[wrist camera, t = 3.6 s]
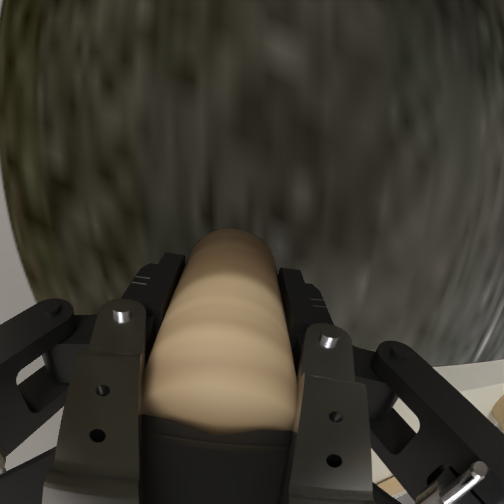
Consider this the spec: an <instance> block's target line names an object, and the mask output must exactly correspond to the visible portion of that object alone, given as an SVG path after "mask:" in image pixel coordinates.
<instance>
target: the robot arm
mask: <svg viewBox="0 0 504 504" xmlns="http://www.w3.org/2000/svg"><path fill="white" fill-rule="evenodd" d="M184 267H185V255H180V254H172V253H165V254H164V256H163V257H162V259H161V261H160V262H159V264H152V263H150V264H148V265H146V266H144V267H143V268H141V269H140V271H139V272H138V273H137V275H136V277H135V278H134V279H133V281H132V283H131V284H130V285H129V287H128V288H127V290H126V291H125V293H124V294H123V296H122V298H121V299H114V300H111V301H108V302H106V303H105V304H103V305H102V306H101V308H100V309H99V312H98V314H97V315H74V312H73V307H72V305H71V304H70V303H69V302H68V301H65V300H62V299H47V300H44V301H41V302H39V303H37V304H35V305H34V306H32V307H30V308H29V309H27V310H25V311H23V312H22V313H20V314H18V315H16V316H15V317H13V318H11V319H9V320H8V321H6V322H4V323H3V324H1V325H0V504H401V503H400V502H398V501H397V500H396V499H395V498H393V497H392V496H391V495H389V494H388V493H387V492H385V491H384V490H383V489H381V488H380V487H379V486H378V485H376V484H375V483H374V482H372V456H371V448H372V449H373V451H374V452H375V453H376V454H377V456H378V457H379V458H380V459H381V461H382V462H383V463H384V464H385V466H386V467H387V468H388V469H389V471H390V472H391V473H392V474H393V476H394V477H395V478H396V479H397V480H398V482H399V483H400V484H401V485H402V487H403V488H404V489H405V490H406V491H407V493H408V494H409V495H410V496H411V497H412V499H413V500H414V501H415V504H504V434H503V433H502V432H501V431H500V430H499V429H498V428H497V427H496V426H495V425H494V424H493V423H492V422H491V421H490V420H489V419H487V418H486V417H485V416H484V415H483V414H482V413H481V412H480V411H479V410H478V409H477V408H476V407H475V406H474V405H473V404H472V403H471V402H470V401H468V400H467V399H466V398H465V397H464V396H463V395H462V394H461V393H460V392H459V391H458V390H457V389H456V388H454V387H453V386H452V385H451V384H450V383H449V382H448V381H447V380H446V379H445V378H444V377H443V376H441V375H440V374H439V373H438V372H437V371H436V370H435V369H434V368H433V367H432V366H430V365H429V364H428V363H427V362H426V361H425V360H424V359H423V358H422V357H420V356H419V355H418V354H417V353H416V352H415V351H414V350H413V349H411V348H410V347H409V346H407V345H405V344H403V343H400V342H397V341H384V342H382V343H381V344H380V345H379V346H378V348H377V350H376V352H373V351H369V350H365V349H361V348H358V347H355V346H352V340H351V338H350V336H349V335H348V333H346V332H345V331H344V330H343V329H341V328H339V327H337V326H334V324H333V322H332V319H331V317H330V314H329V312H328V309H327V308H326V304H325V302H324V301H323V297H322V295H321V292H320V291H319V290H318V289H317V288H316V287H315V286H314V285H312V284H306V283H305V282H304V279H303V276H302V274H301V271H300V270H294V269H286V268H280V270H279V274H278V282H279V287H280V292H281V297H282V303H283V308H284V313H285V318H286V324H287V329H288V334H289V340H290V345H291V351H292V356H293V361H294V367H295V372H296V378H297V399H296V413H295V416H294V426H293V431H286V430H256V431H249V432H242V433H234V434H225V435H214V434H210V433H207V432H204V431H201V430H199V429H196V428H193V427H190V426H187V425H185V424H182V423H179V422H177V421H174V420H171V419H166V418H160V417H155V416H150V415H145V414H142V402H143V401H142V393H143V381H144V373H145V367H146V364H147V362H148V359H149V356H150V353H151V351H152V348H153V345H154V343H155V340H156V337H157V335H158V332H159V330H160V327H161V324H162V322H163V319H164V317H165V314H166V312H167V309H168V306H169V304H170V301H171V299H172V296H173V294H174V291H175V289H176V287H177V284H178V282H179V279H180V277H181V274H182V272H183V270H184ZM41 355H42V357H43V360H44V363H45V365H44V366H43V367H42V368H40V369H39V370H38V371H36V372H35V373H34V374H32V375H31V376H29V377H28V378H27V379H25V380H24V381H23V382H22V383H20V384H19V385H17V384H16V377H17V375H18V373H19V372H20V370H21V369H23V368H24V367H25V366H27V365H28V364H30V363H31V362H32V361H34V360H35V359H37V358H38V357H39V356H41ZM398 398H400V399H401V400H402V401H403V402H404V403H405V404H406V406H407V407H408V408H409V409H410V410H411V411H412V412H413V413H414V414H415V415H416V416H417V418H418V420H419V423H420V428H419V431H418V432H417V433H416V432H415V431H414V430H413V429H412V428H411V427H410V426H409V425H408V423H407V422H406V421H405V420H404V419H403V418H402V417H401V416H400V415H399V414H398V413H397V411H396V410H395V409H394V408H393V406H394V404H395V403H396V401H397V400H398ZM63 406H64V410H63V415H62V420H61V425H60V430H59V435H58V442H57V446H56V447H54V448H52V449H50V450H48V451H46V452H44V453H43V454H41V455H39V456H37V457H35V458H33V459H31V460H29V461H27V462H25V463H23V464H21V465H19V466H17V467H15V468H13V469H10V470H8V471H6V469H5V467H4V466H5V462H6V456H7V455H9V454H10V453H11V452H12V451H13V450H14V449H15V448H17V446H19V445H20V444H21V443H22V442H23V441H24V440H26V439H27V438H28V437H29V436H30V435H31V434H32V433H34V432H35V431H36V430H37V429H38V428H39V427H40V426H42V425H43V424H44V423H45V422H46V421H47V420H48V419H50V418H51V417H52V416H53V415H54V414H55V413H56V412H58V411H59V410H60V409H61V408H62V407H63Z"/></svg>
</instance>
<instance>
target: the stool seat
mask: <svg viewBox="0 0 504 504" xmlns="http://www.w3.org/2000/svg"><path fill="white" fill-rule="evenodd" d="M433 368H434V369H435V370H436V371H437V372H438V373H439V374H440V375H441V376H443V377H444V378H445V379H446V380H447V381H448V382H449V383H450V384H451V385H452V386H453V387H454V388H456V389H457V390H458V391H459V392H460V393H461V394H462V395H463V396H464V397H465V398H466V399H467V400H468V401H470V402H471V403H472V404H473V405H474V406H475V407H476V408H477V409H478V410H479V411H480V412H481V413H482V414H483V415H484V416H485V417H486V418H487V419H489V420H490V421H491V422H492V423H493V424H494V425H495V426H497V425H498V424H499V426H500V427H501V429H502V430H503V432H504V359H502V360H495V361H487V362H480V363H471V364H462V365H452V366H440V367H433ZM393 408H394V409H395V410H396V411H397V413H398V414H399V415H400V416H401V417H402V418H403V419H404V420H405V421H406V422H407V423H408V425H409V426H410V427H411V428H412V429H413V430H414V431H415V432H416V433H417V432H418V431H419V428H420V423H419V420H418V418H417V416H416V415H415V414H414V413H413V412H412V411H411V410H410V409H409V408H408V407H407V406H406V404H405V403H404V402H403V401H402V400H401V399H400V398H398V400H397V401H396V403H395V404H394V406H393ZM371 456H372V482H374V483H375V484H376V485H378V484H380V483H382V482H384V481H387V480H389V479H391V478H393V477H394V476H393V474H392V473H391V472H390V471H389V469H388V468H387V467H386V466H385V464H384V463H383V462H382V461H381V459H380V458H379V457H378V456H377V454H376V453H375V452H374V451H373V449H372V448H371ZM403 494H407V491H406V490H404V491H402V492H400V493H398V494H395V495H393V496H392V497H395V496H399V495H403Z"/></svg>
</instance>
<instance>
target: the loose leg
mask: <svg viewBox="0 0 504 504" xmlns="http://www.w3.org/2000/svg"><path fill="white" fill-rule="evenodd" d="M296 399H297V378H296V372H295V367H294V361H293V356H292V351H291V345H290V340H289V334H288V329H287V324H286V318H285V313H284V308H283V303H282V297H281V292H280V287H279V282H278V277H277V272H276V267H275V262H274V258H273V255H272V253H271V251H270V249H269V248H268V246H267V245H266V244H265V243H264V242H263V241H262V240H261V239H260V238H258V237H257V236H255V235H254V234H252V233H250V232H247V231H244V230H240V229H232V228H229V229H221V230H217V231H214V232H211V233H209V234H207V235H206V236H204V237H203V238H202V239H200V240H199V241H198V242H197V243H196V245H195V246H194V247H193V249H192V251H191V253H190V255H189V258H188V260H187V262H186V265H185V267H184V270H183V272H182V274H181V277H180V279H179V282H178V284H177V287H176V289H175V291H174V294H173V296H172V299H171V301H170V304H169V306H168V309H167V312H166V314H165V317H164V319H163V322H162V324H161V327H160V330H159V332H158V335H157V337H156V340H155V343H154V345H153V348H152V351H151V353H150V356H149V359H148V362H147V364H146V367H145V373H144V381H143V393H142V401H143V402H142V414H145V415H150V416H155V417H160V418H166V419H171V420H174V421H177V422H179V423H182V424H185V425H187V426H190V427H193V428H196V429H199V430H201V431H204V432H207V433H210V434H214V435H225V434H234V433H242V432H249V431H256V430H286V431H293V426H294V416H295V413H296Z"/></svg>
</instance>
